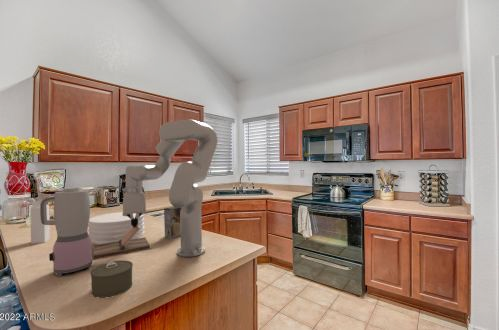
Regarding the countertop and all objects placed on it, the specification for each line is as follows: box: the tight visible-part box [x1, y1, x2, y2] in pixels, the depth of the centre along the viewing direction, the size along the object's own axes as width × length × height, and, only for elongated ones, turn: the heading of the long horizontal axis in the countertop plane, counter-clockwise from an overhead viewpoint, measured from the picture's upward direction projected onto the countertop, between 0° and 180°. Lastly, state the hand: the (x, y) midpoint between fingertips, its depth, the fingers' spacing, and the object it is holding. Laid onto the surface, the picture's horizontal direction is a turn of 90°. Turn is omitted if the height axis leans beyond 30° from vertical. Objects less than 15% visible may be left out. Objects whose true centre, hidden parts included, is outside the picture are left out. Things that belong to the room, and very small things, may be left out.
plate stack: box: [88, 211, 145, 245], centre depth 136 cm, size 28×28×12 cm
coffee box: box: [163, 206, 181, 239], centre depth 136 cm, size 9×6×16 cm
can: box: [90, 259, 133, 299], centre depth 78 cm, size 12×12×7 cm
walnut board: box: [92, 236, 151, 260], centre depth 115 cm, size 16×23×3 cm
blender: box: [40, 186, 93, 277], centre depth 92 cm, size 16×12×32 cm
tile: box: [120, 225, 140, 246], centre depth 117 cm, size 10×11×1 cm
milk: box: [29, 200, 51, 245], centre depth 128 cm, size 6×6×22 cm
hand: (134, 226), depth 119 cm, fingers closed
